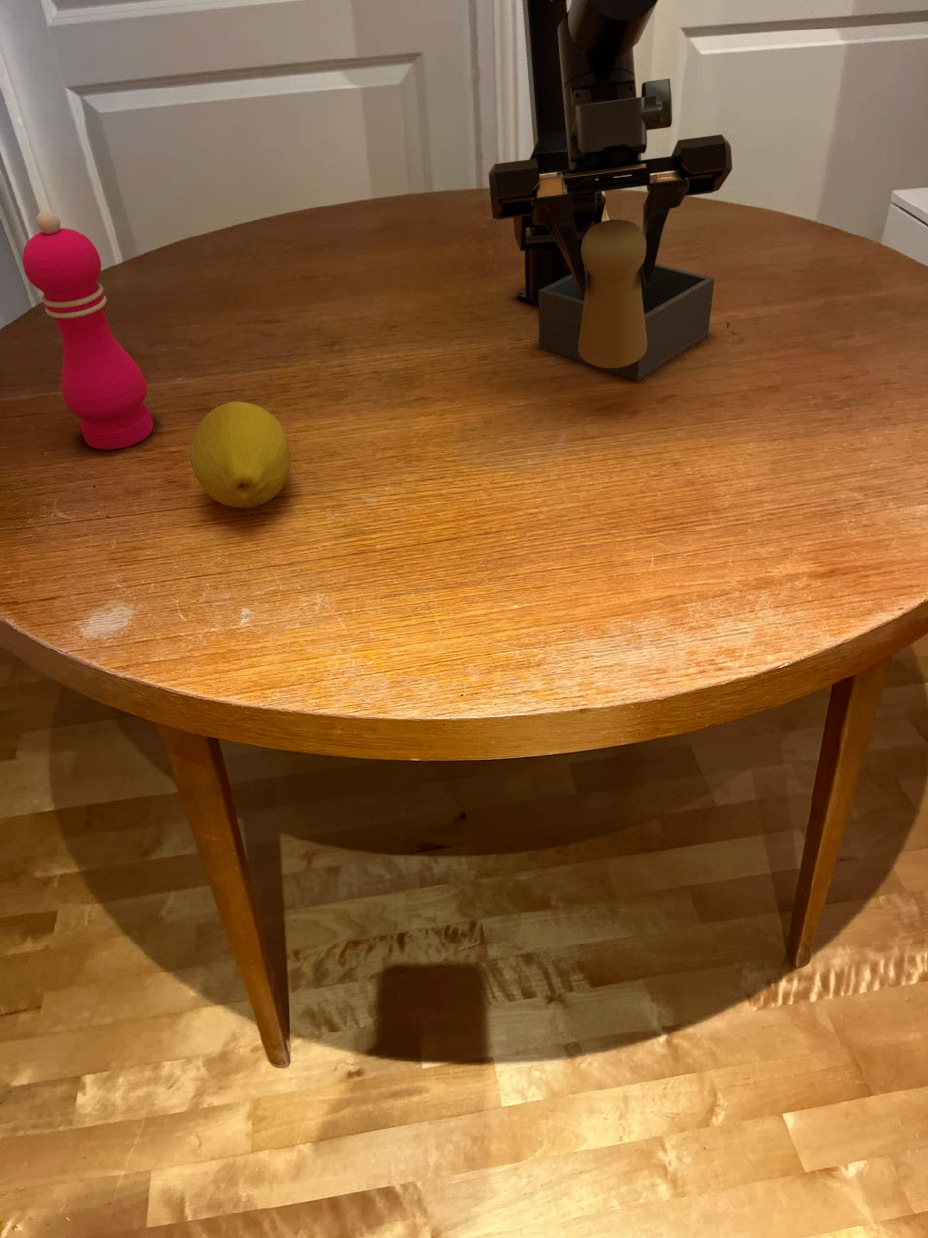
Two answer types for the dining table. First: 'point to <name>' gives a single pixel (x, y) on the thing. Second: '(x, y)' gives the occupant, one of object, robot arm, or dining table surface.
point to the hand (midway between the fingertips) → (615, 288)
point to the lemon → (240, 455)
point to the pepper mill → (87, 338)
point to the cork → (613, 295)
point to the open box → (669, 311)
